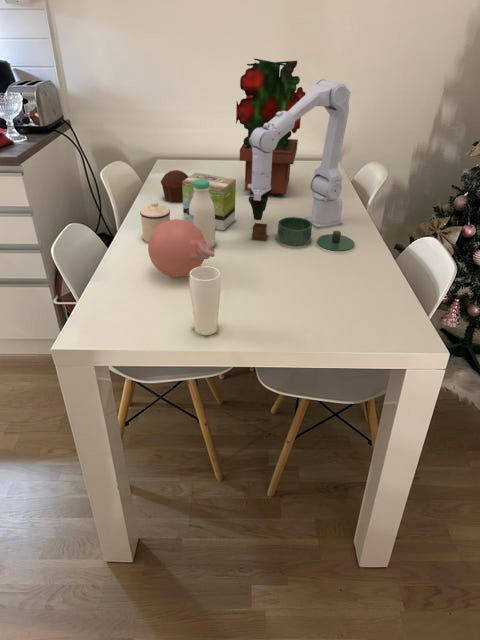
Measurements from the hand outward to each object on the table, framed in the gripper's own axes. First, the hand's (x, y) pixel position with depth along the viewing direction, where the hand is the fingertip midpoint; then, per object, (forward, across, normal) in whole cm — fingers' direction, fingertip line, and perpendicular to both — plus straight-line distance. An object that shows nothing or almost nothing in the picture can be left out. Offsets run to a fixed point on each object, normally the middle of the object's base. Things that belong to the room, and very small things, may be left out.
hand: (259, 214), depth 152 cm
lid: (+7, 0, +24) cm, 25 cm away
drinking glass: (+8, +53, -4) cm, 54 cm away
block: (+8, 0, 0) cm, 8 cm away
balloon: (+8, +30, -16) cm, 35 cm away
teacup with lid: (+8, +6, -31) cm, 33 cm away
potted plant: (+8, -44, -3) cm, 45 cm away
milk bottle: (+8, +10, -16) cm, 20 cm away
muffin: (+8, -27, -35) cm, 45 cm away
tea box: (+8, -8, -18) cm, 21 cm away
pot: (+8, 0, +11) cm, 14 cm away
